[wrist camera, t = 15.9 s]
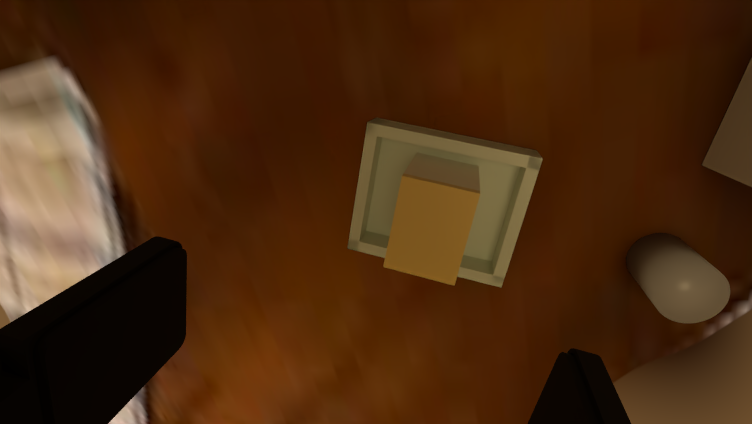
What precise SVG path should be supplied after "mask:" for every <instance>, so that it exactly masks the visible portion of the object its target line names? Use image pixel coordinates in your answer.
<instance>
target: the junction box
mask: <svg viewBox="0 0 752 424" xmlns="http://www.w3.org/2000/svg"><path fill="white" fill-rule="evenodd" d="M702 166H704V167H707V168H709V169H711V170H714V171H716V172H718V173H720V174H723V175H725V176H727V177H730V178H732V179H734V180H736V181H739V182H741V183H743V184H746V185H748V186H750V187H752V58H751V60H750V62H749V64H748V67H747V69H746V71H745V73H744V75H743V77H742V79H741V82H740V84H739V86H738V88H737V90H736V92H735V94H734V97H733V99H732V101H731V103H730V105H729V107H728V109H727V112H726V114H725V116H724V118H723V120H722V122H721V124H720V127H719V129H718V131H717V133H716V135H715V137H714V139H713V142H712V144H711V146H710V148H709V150H708V152H707V155H706V157H705V159H704V161H703V163H702Z"/></svg>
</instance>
